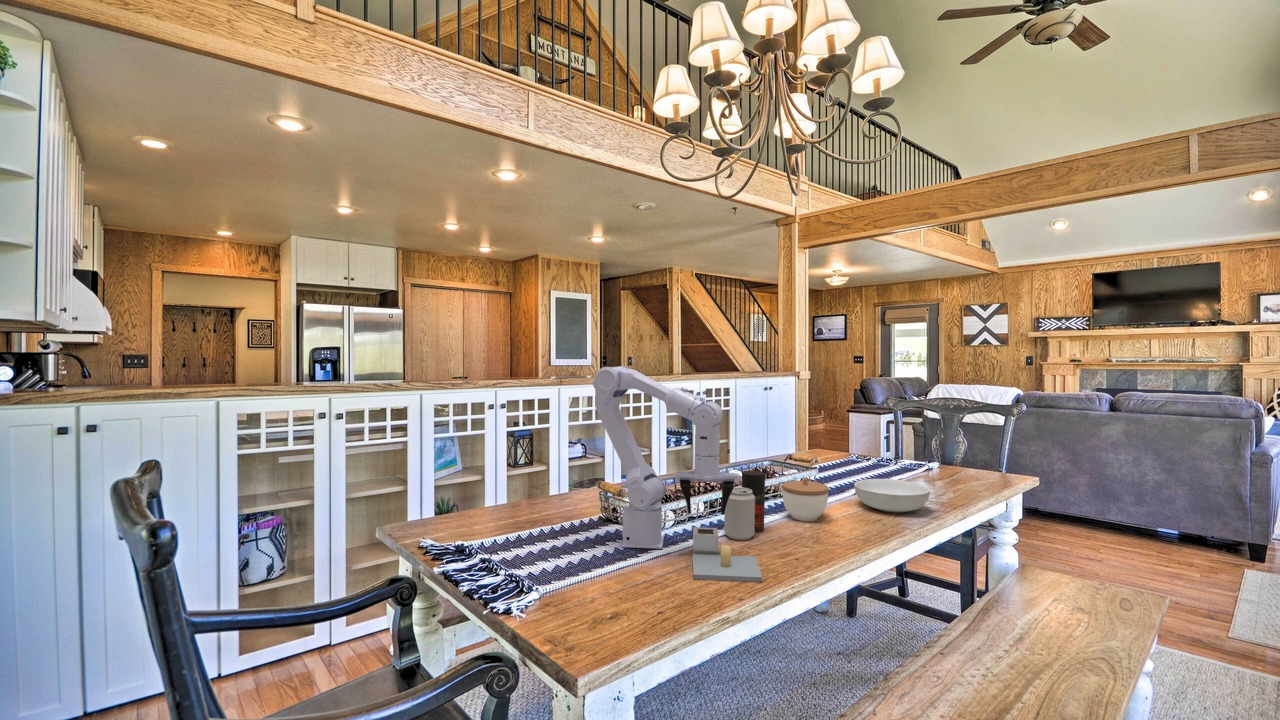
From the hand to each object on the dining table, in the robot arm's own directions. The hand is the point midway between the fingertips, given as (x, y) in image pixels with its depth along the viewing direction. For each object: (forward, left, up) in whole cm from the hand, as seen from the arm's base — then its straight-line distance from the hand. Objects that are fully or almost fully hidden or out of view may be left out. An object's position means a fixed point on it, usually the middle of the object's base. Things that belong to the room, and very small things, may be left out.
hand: (706, 512), depth 138 cm
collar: (0, 0, -9) cm, 9 cm away
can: (+9, +13, -10) cm, 18 cm away
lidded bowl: (+29, +32, -10) cm, 44 cm away
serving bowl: (+57, +45, -10) cm, 73 cm away
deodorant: (+13, +19, -10) cm, 25 cm away
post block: (+4, -10, -9) cm, 14 cm away
